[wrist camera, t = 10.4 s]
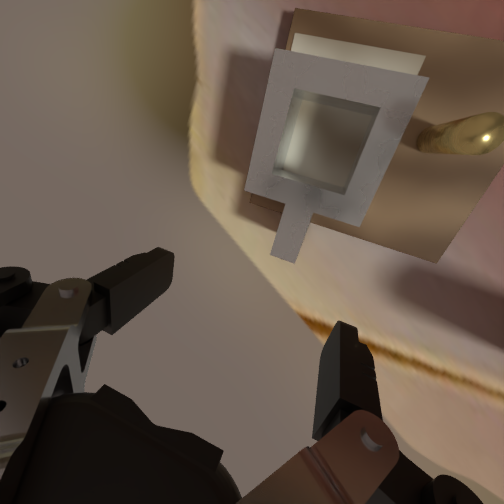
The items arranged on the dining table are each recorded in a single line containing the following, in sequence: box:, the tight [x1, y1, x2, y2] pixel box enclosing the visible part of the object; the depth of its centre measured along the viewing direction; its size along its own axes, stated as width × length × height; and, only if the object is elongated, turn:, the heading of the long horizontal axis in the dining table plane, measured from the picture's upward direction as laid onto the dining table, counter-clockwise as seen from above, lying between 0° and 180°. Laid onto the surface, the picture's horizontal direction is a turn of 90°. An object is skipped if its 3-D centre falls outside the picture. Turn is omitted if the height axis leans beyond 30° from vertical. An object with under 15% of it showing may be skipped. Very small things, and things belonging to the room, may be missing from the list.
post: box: [416, 112, 504, 155], centre depth 16 cm, size 2×2×8 cm
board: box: [250, 8, 504, 264], centre depth 21 cm, size 16×19×1 cm
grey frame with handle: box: [244, 48, 429, 264], centre depth 21 cm, size 15×10×4 cm, turn 166°
